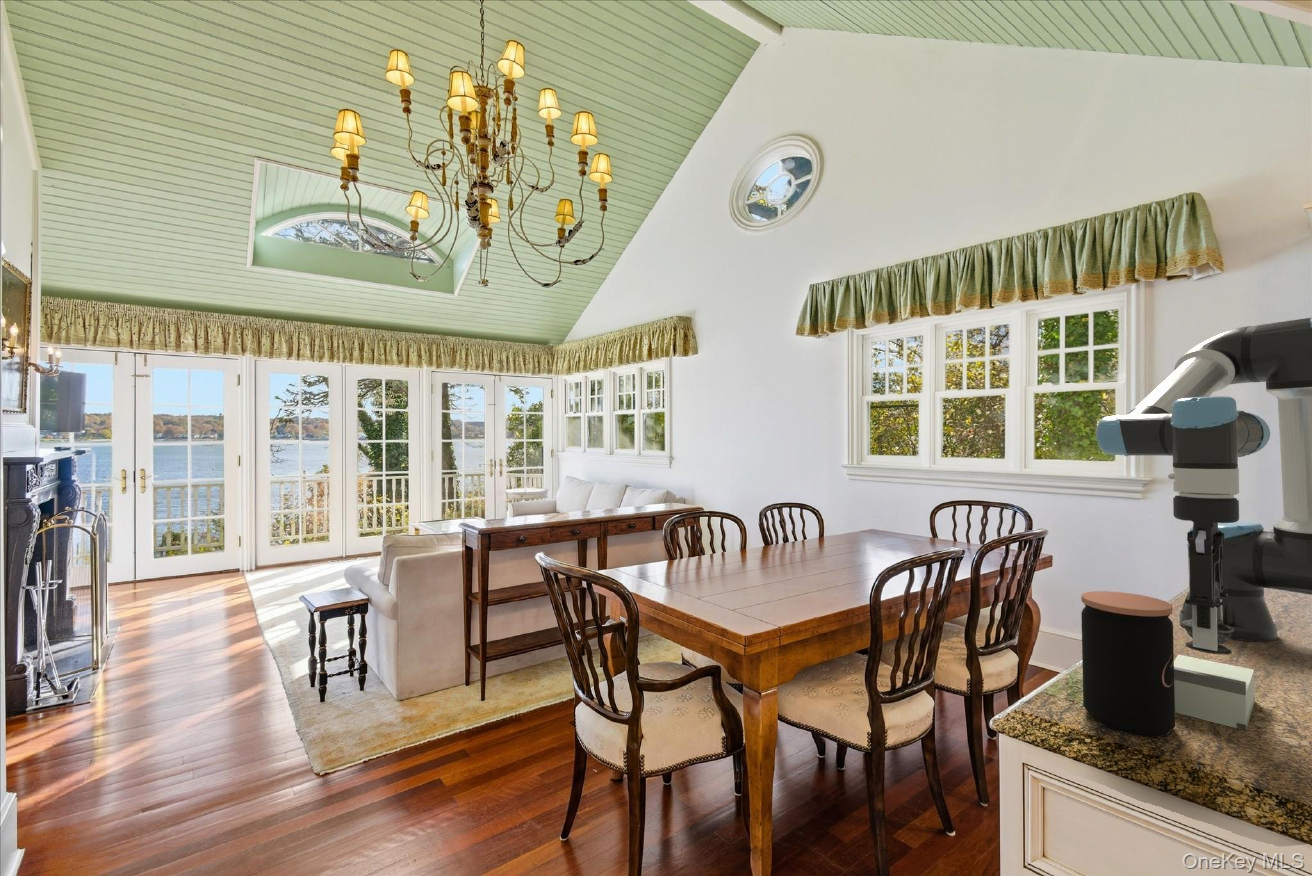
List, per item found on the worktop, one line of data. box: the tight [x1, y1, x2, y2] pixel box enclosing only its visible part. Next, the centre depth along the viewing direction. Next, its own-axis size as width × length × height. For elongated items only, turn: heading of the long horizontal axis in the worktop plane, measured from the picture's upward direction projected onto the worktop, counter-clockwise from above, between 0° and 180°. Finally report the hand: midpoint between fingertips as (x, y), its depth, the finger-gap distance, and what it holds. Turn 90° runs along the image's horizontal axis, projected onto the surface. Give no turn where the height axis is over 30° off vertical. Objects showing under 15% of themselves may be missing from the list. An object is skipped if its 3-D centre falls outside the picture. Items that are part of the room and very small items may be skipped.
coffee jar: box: [1080, 590, 1176, 738], centre depth 87 cm, size 11×11×18 cm
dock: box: [1174, 654, 1256, 732], centre depth 91 cm, size 14×9×7 cm, turn 131°
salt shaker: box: [1182, 580, 1234, 656], centre depth 91 cm, size 6×6×12 cm
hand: (1208, 642), depth 91 cm, fingers closed on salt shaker, 6 cm apart
